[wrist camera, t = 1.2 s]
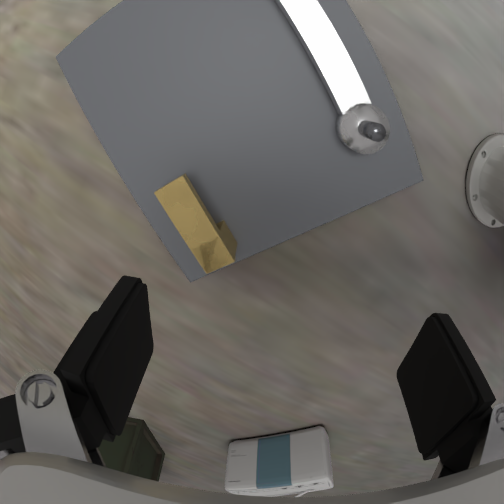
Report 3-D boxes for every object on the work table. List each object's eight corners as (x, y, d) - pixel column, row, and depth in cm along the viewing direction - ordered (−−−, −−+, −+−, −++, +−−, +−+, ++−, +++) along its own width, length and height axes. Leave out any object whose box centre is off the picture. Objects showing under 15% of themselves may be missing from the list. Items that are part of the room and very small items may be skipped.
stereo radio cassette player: (322, 420, 52) (331, 510, 34) (331, 435, 55) (339, 516, 38) (227, 437, 56) (218, 518, 39) (243, 451, 60) (237, 525, 42)
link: (389, 140, 26) (410, 149, 22) (347, 157, 28) (362, 169, 23) (278, -57, 17) (279, -80, 12) (234, -42, 18) (228, -64, 14)
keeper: (193, 166, 29) (182, 175, 25) (238, 243, 33) (234, 261, 29) (167, 181, 30) (153, 192, 26) (212, 254, 34) (206, 274, 30)
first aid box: (105, 440, 65) (70, 555, 30) (76, 405, 56) (25, 539, 21) (165, 453, 64) (138, 581, 29) (143, 420, 55) (102, 578, 20)
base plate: (287, -70, 17) (288, -76, 16) (417, 176, 30) (423, 180, 28) (62, 57, 24) (55, 57, 23) (192, 275, 37) (190, 282, 35)
